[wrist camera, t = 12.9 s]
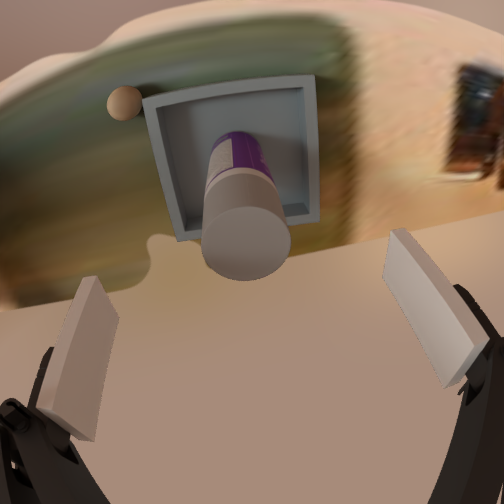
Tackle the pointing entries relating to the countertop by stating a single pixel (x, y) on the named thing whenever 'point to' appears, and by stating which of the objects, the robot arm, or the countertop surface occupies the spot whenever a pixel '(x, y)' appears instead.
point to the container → (242, 211)
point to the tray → (236, 119)
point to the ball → (124, 103)
